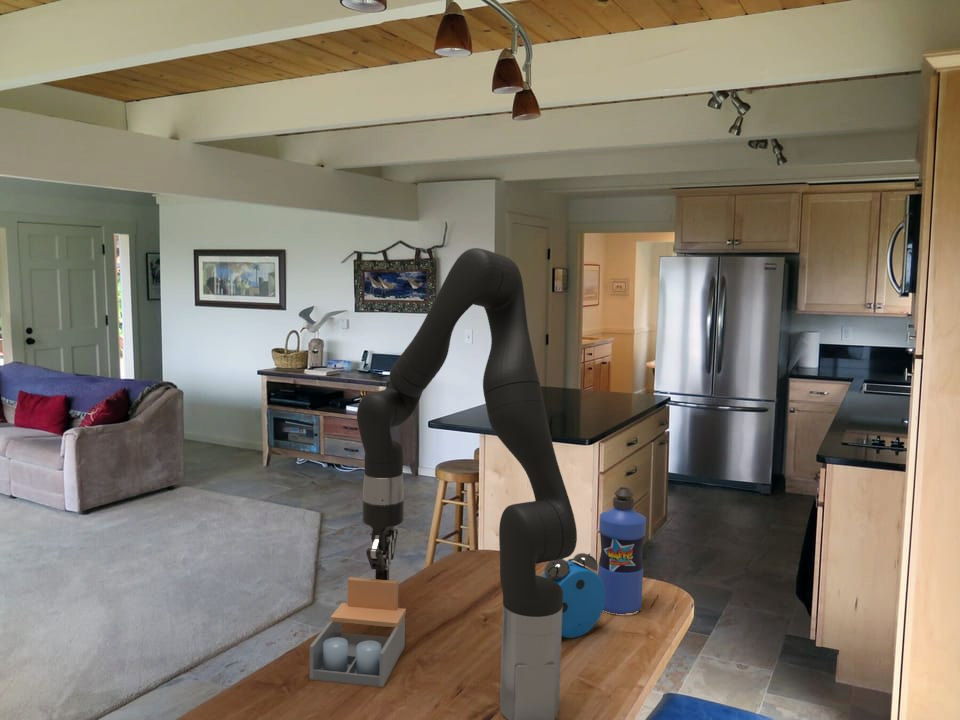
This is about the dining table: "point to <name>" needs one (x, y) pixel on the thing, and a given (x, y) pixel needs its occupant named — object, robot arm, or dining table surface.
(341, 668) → the grey rounded cylinder
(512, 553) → the robot arm
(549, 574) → the alarm clock
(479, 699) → the dining table surface
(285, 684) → the dining table surface
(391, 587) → the lid
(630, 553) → the water bottle
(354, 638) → the housing
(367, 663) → the blue-grey rounded cylinder
